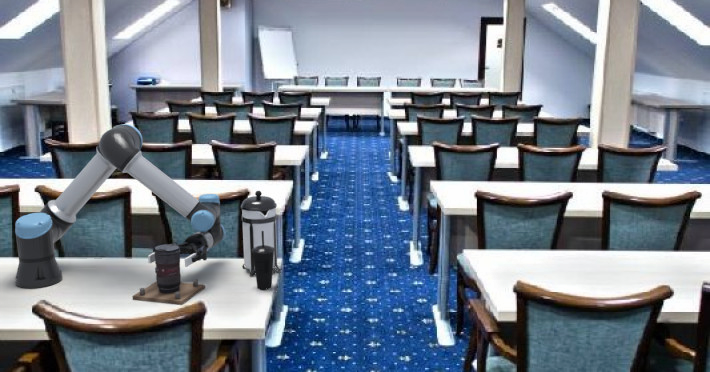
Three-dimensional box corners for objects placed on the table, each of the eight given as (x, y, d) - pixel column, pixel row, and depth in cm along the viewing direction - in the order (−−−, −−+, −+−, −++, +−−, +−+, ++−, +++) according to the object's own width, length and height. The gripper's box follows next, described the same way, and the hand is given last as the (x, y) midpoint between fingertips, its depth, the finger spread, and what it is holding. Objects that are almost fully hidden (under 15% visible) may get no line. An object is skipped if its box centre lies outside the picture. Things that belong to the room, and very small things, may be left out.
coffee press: (290, 266, 270) (288, 187, 264) (267, 279, 256) (265, 196, 250) (251, 260, 278) (248, 183, 271) (226, 272, 263) (223, 192, 257)
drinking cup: (279, 285, 251) (277, 229, 246) (269, 292, 244) (267, 235, 239) (259, 282, 253) (257, 227, 249) (249, 289, 246) (247, 233, 242)
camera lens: (175, 295, 238) (172, 251, 235) (152, 293, 240) (149, 250, 237) (185, 286, 246) (183, 244, 243) (163, 285, 247) (161, 243, 244)
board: (132, 299, 238) (131, 290, 237) (158, 283, 253) (157, 274, 252) (181, 304, 233) (181, 295, 232) (205, 288, 248) (204, 279, 247)
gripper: (230, 256, 257) (201, 275, 237) (168, 250, 264) (135, 268, 244) (229, 235, 255) (200, 253, 236) (166, 230, 262) (133, 247, 242)
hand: (167, 261), depth 240 cm, fingers open, 13 cm apart
